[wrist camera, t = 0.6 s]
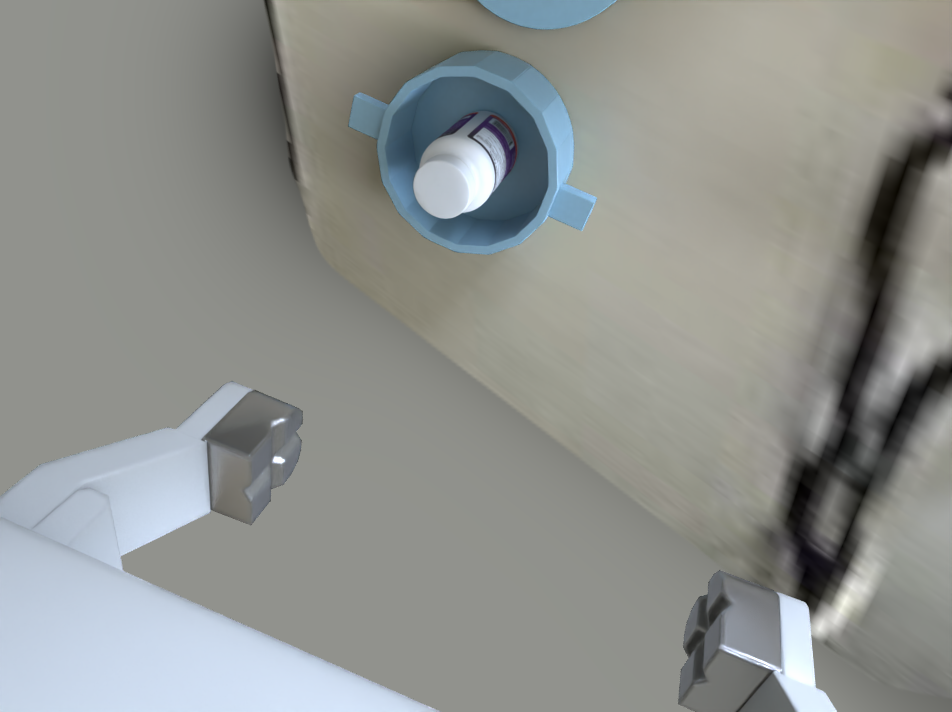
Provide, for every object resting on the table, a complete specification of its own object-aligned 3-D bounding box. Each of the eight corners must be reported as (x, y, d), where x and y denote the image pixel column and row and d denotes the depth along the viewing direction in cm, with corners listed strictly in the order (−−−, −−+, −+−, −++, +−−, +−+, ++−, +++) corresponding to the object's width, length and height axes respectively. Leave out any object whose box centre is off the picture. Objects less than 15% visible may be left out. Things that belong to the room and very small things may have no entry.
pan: (397, 5, 50) (364, 17, 46) (638, 110, 49) (627, 131, 44) (361, 172, 58) (331, 195, 54) (567, 266, 57) (551, 296, 53)
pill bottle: (452, 175, 55) (403, 222, 48) (452, 105, 52) (400, 144, 45) (518, 184, 54) (479, 234, 46) (522, 113, 51) (481, 154, 43)
